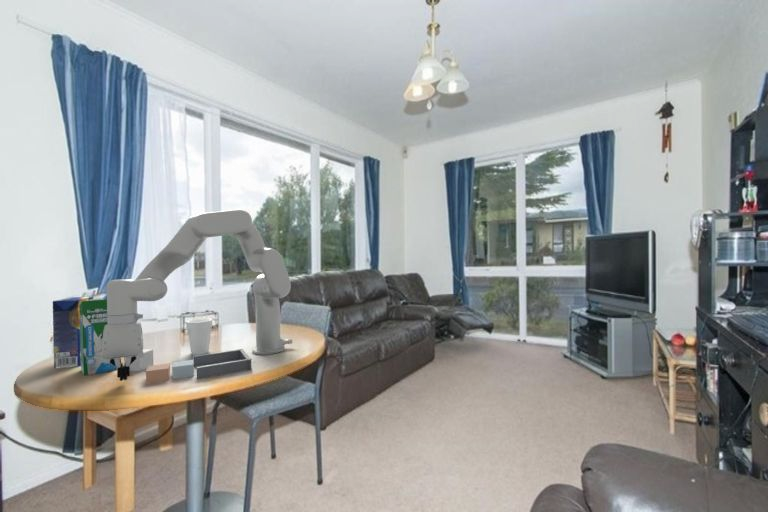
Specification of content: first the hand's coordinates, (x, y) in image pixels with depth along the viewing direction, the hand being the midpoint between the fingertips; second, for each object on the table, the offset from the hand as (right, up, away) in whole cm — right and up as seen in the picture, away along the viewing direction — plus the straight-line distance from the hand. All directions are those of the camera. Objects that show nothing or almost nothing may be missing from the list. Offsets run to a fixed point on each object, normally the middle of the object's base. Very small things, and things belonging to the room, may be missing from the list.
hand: (123, 378), depth 111 cm
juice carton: (-35, -2, +24) cm, 43 cm away
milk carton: (-20, -2, +15) cm, 25 cm away
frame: (+24, -1, +15) cm, 28 cm away
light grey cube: (-6, -2, +16) cm, 17 cm away
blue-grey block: (+14, -2, +8) cm, 16 cm away
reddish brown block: (+8, -2, +5) cm, 9 cm away
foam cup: (+5, -2, +36) cm, 36 cm away
